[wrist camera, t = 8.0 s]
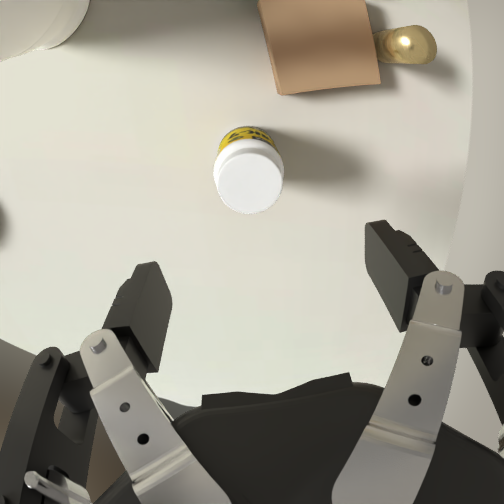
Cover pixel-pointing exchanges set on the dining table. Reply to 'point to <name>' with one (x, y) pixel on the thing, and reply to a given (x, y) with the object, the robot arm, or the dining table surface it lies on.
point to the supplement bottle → (248, 170)
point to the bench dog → (405, 45)
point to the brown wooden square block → (319, 44)
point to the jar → (37, 24)
